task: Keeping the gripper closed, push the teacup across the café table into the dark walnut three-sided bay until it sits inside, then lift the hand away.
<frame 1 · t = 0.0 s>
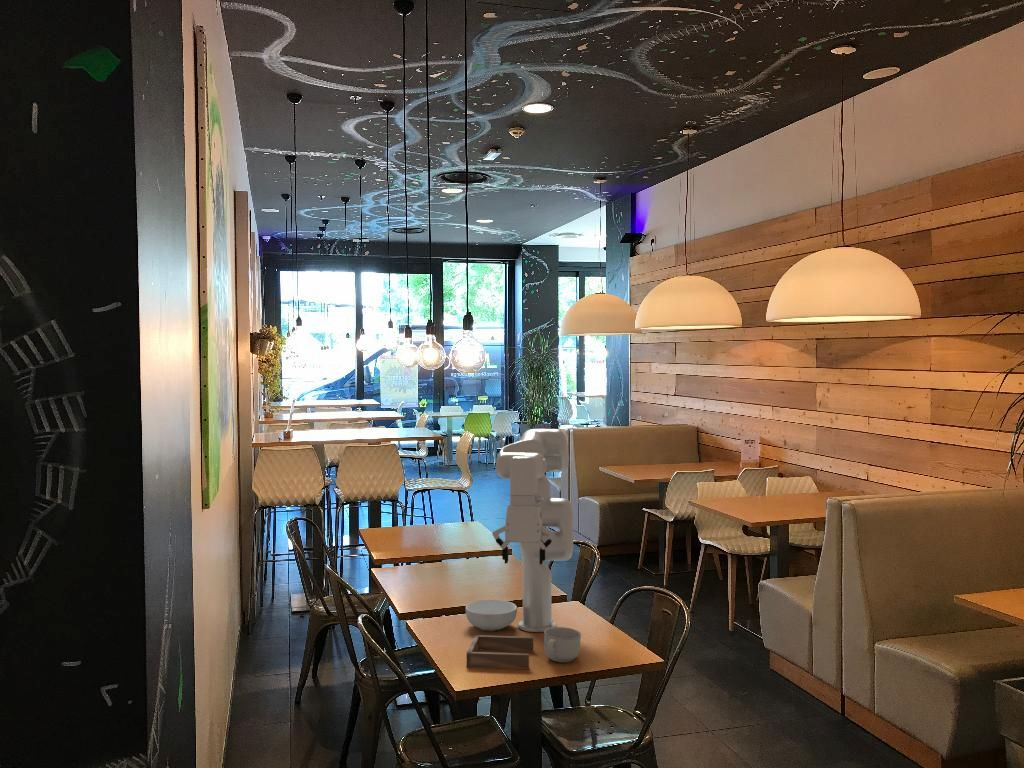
hand: (523, 562, 226), 31 cm above the table, tool pointing down, fingers open, 9 cm apart
teacup: (559, 661, 239), on the table
cereal bowl: (491, 628, 271), on the table
walnut bay: (503, 658, 241), on the table
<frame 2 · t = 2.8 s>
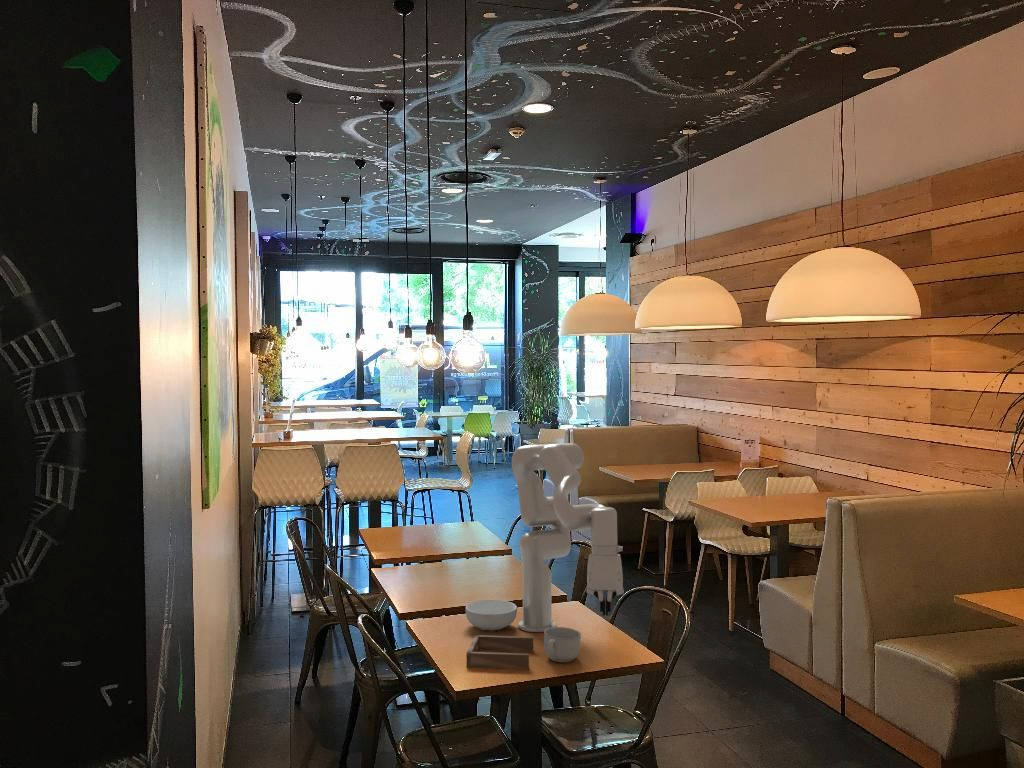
hand: (605, 614, 237), 14 cm above the table, tool pointing down, fingers closed
nothing on the table moved.
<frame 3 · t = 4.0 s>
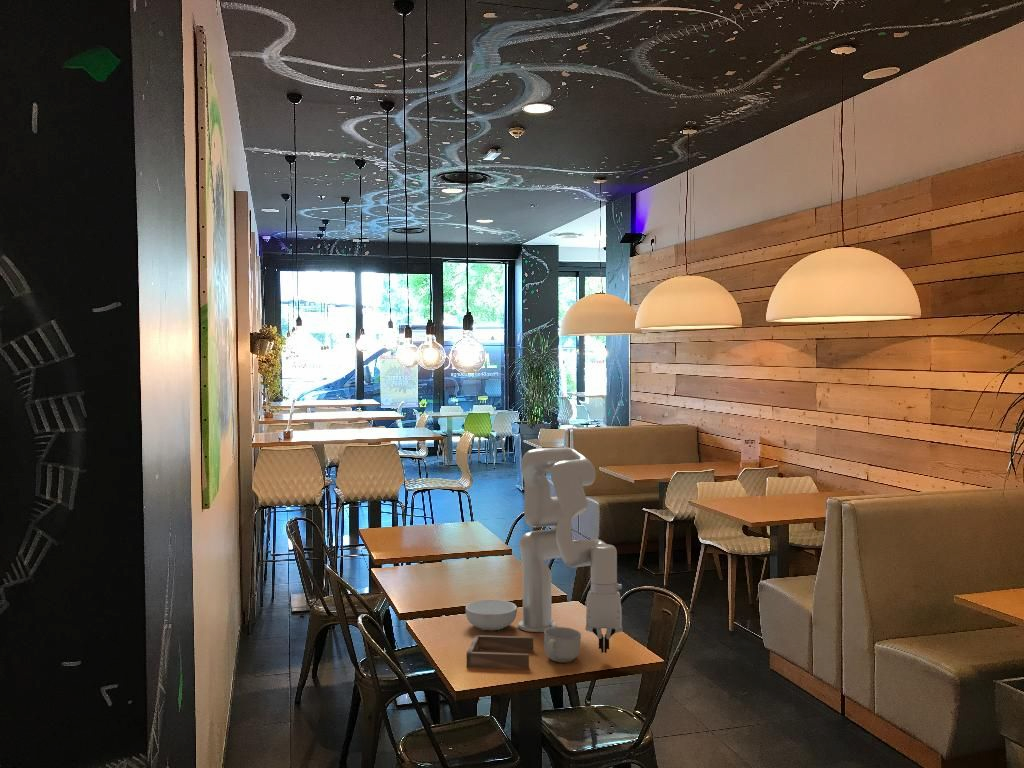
hand: (603, 651, 237), 3 cm above the table, tool pointing down, fingers closed
nothing on the table moved.
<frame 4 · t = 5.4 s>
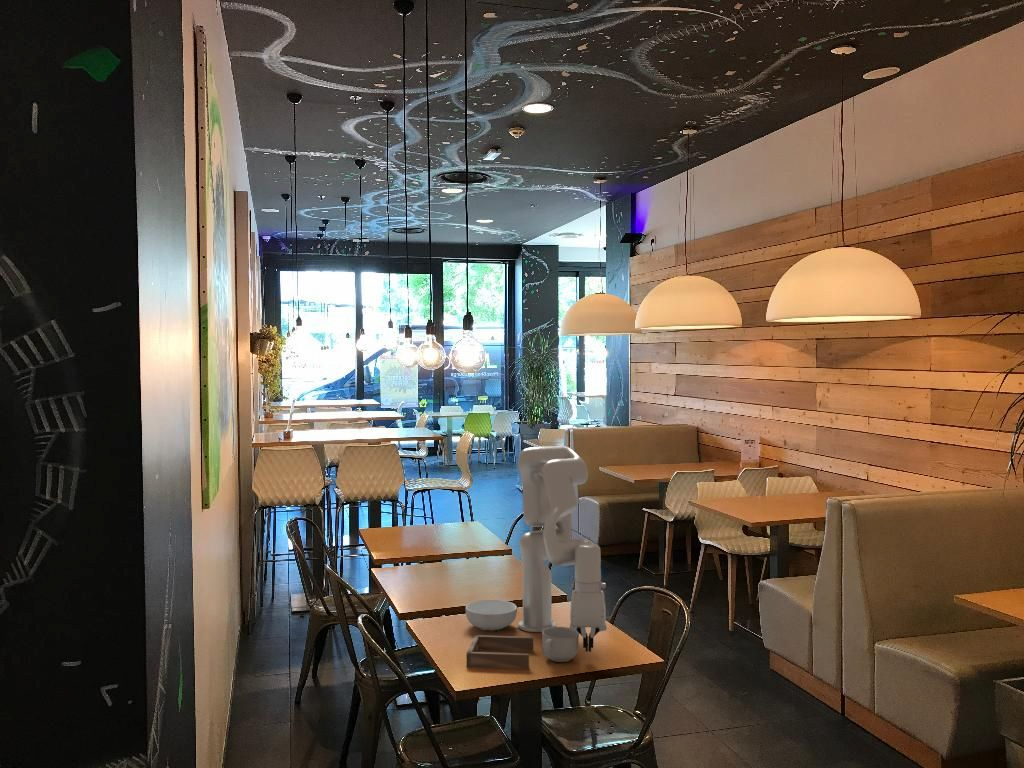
hand: (588, 650, 237), 3 cm above the table, tool pointing down, fingers closed
teacup: (557, 660, 239), on the table, touching gripper
everything else where it was.
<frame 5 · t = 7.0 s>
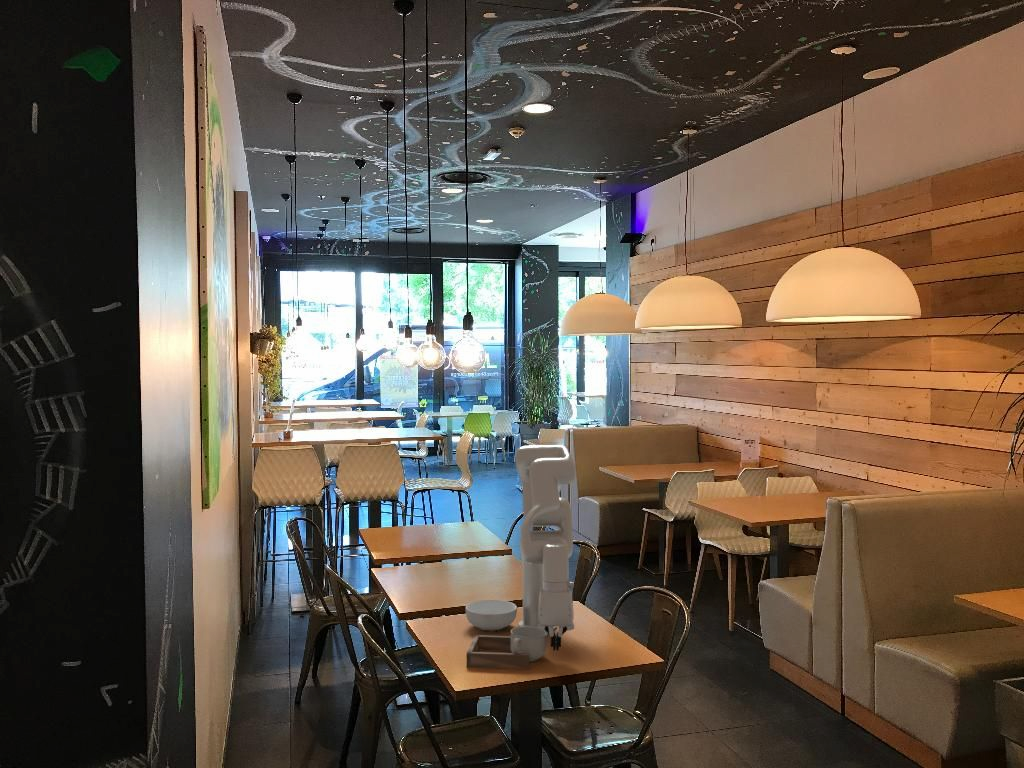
hand: (556, 649, 238), 3 cm above the table, tool pointing down, fingers closed
teacup: (525, 660, 240), on the table, touching gripper
everything else where it was.
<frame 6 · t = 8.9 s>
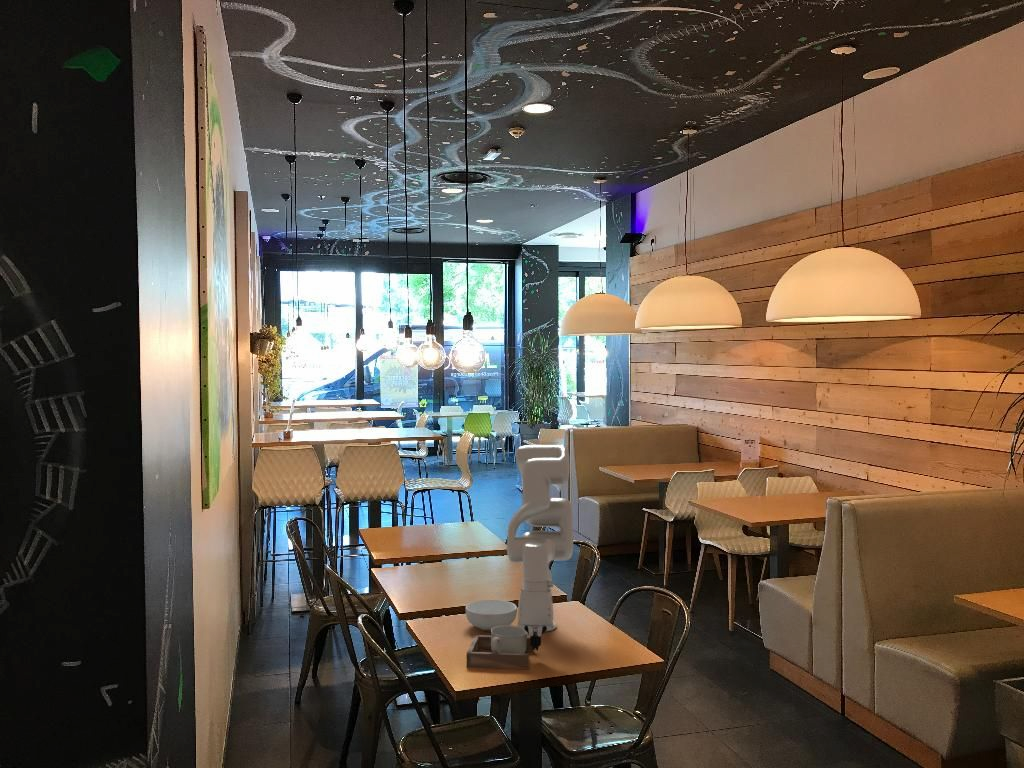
hand: (535, 648, 239), 3 cm above the table, tool pointing down, fingers closed
teacup: (505, 659, 241), on the table, touching gripper
everything else where it was.
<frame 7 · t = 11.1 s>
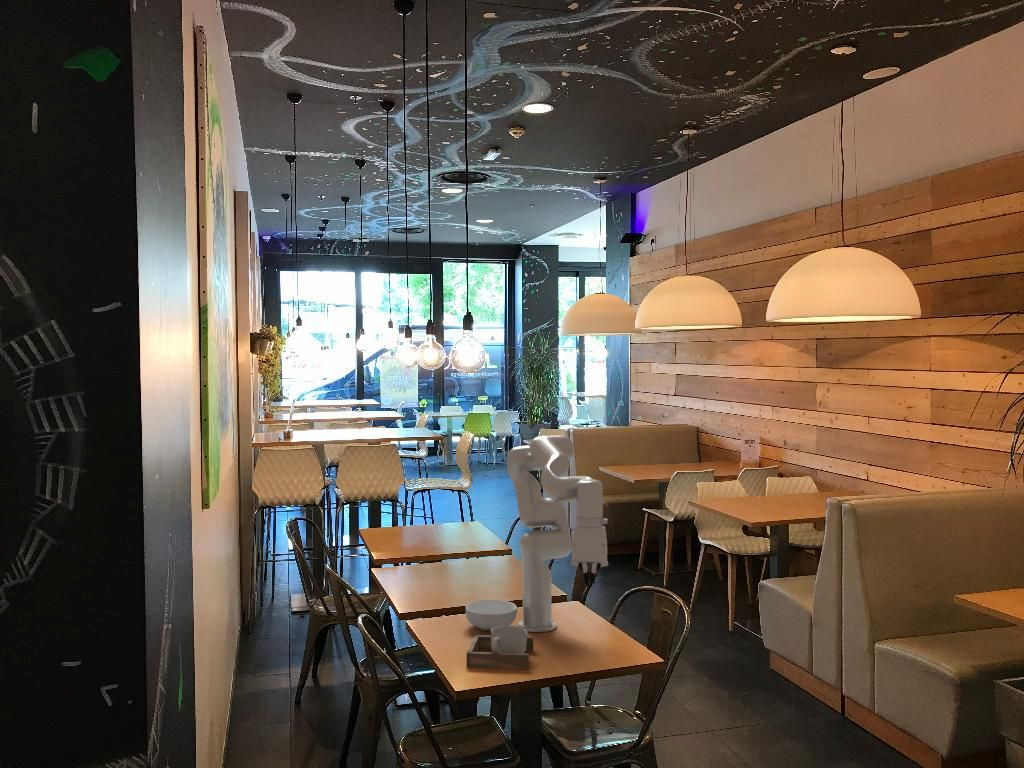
hand: (589, 585, 238), 22 cm above the table, tool pointing down, fingers closed
teacup: (505, 659, 241), on the table
everything else where it was.
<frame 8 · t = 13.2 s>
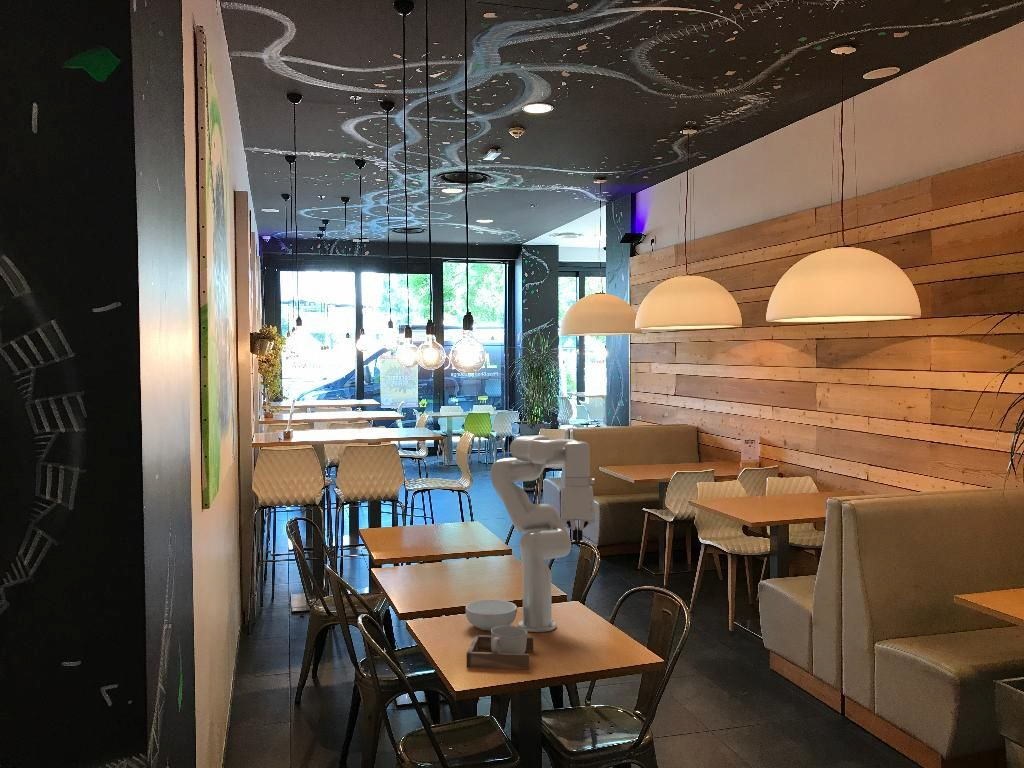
hand: (577, 542, 249), 32 cm above the table, tool pointing down, fingers closed
nothing on the table moved.
at the end: teacup inside the target area (2.7 cm from its centre), on the table; teacup tilted 0° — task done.
